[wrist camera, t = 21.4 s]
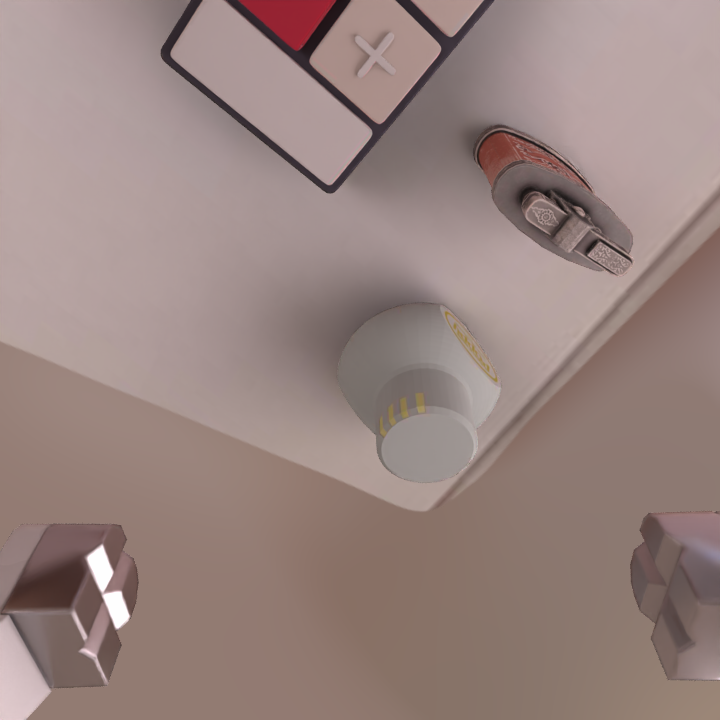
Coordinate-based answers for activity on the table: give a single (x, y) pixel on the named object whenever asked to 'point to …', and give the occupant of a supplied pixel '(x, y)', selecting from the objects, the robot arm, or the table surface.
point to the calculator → (317, 69)
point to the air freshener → (419, 389)
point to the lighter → (552, 201)
